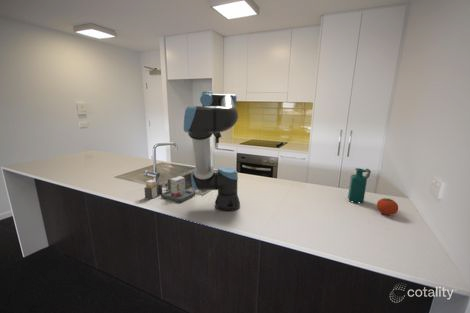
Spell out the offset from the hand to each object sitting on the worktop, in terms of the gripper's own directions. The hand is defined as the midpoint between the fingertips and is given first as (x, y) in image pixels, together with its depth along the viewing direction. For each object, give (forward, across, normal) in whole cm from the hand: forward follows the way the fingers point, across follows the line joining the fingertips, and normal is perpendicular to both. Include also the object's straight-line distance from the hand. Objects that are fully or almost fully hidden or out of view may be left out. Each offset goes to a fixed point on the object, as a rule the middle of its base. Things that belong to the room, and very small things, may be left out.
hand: (208, 146), depth 150 cm
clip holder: (+32, +24, +23) cm, 46 cm away
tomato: (+32, -109, -23) cm, 116 cm away
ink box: (+31, +10, +20) cm, 38 cm away
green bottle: (+32, -94, -35) cm, 105 cm away
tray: (+32, +10, +20) cm, 39 cm away
